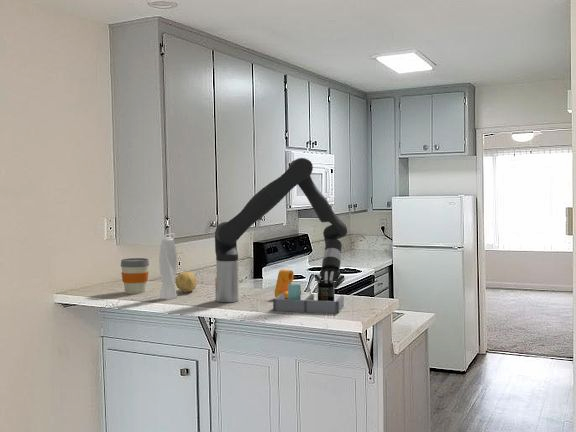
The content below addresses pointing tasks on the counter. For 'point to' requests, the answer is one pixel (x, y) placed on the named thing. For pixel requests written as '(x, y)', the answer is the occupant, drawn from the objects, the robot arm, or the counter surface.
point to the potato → (186, 281)
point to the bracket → (283, 282)
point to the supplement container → (325, 290)
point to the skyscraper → (168, 267)
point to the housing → (305, 302)
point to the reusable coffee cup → (134, 275)
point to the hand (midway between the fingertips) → (327, 295)
